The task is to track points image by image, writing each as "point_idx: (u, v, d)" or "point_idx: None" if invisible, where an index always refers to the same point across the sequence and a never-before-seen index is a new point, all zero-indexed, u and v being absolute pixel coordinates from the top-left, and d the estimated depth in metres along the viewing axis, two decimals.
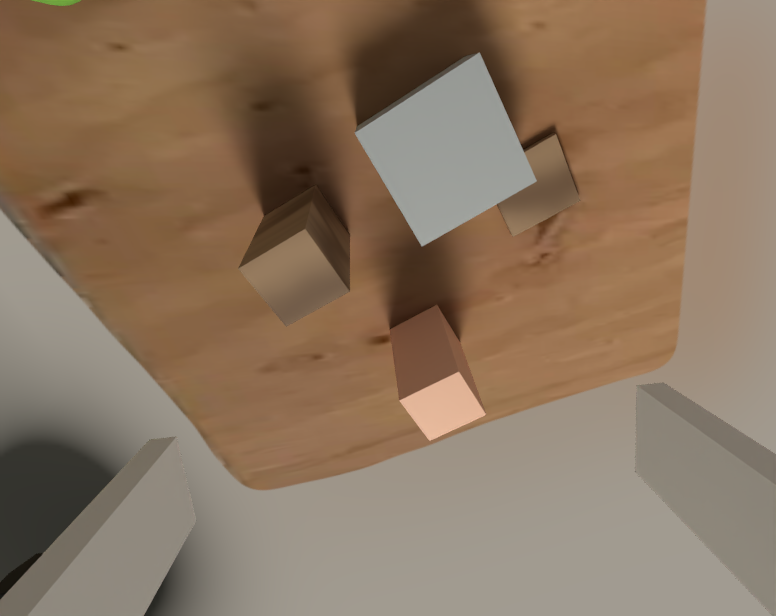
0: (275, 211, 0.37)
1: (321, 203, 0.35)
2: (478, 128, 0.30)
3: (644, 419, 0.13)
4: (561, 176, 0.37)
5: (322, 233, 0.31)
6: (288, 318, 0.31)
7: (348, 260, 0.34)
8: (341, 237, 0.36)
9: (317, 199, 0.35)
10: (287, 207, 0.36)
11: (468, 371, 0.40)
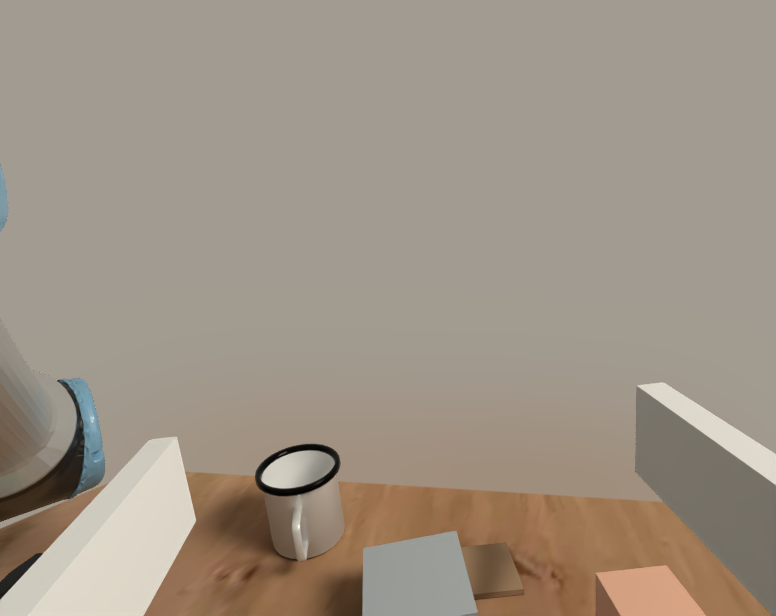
0: None
1: None
2: (405, 556, 0.43)
3: (644, 418, 0.13)
4: (482, 549, 0.49)
5: None
6: None
7: None
8: None
9: None
10: None
11: None
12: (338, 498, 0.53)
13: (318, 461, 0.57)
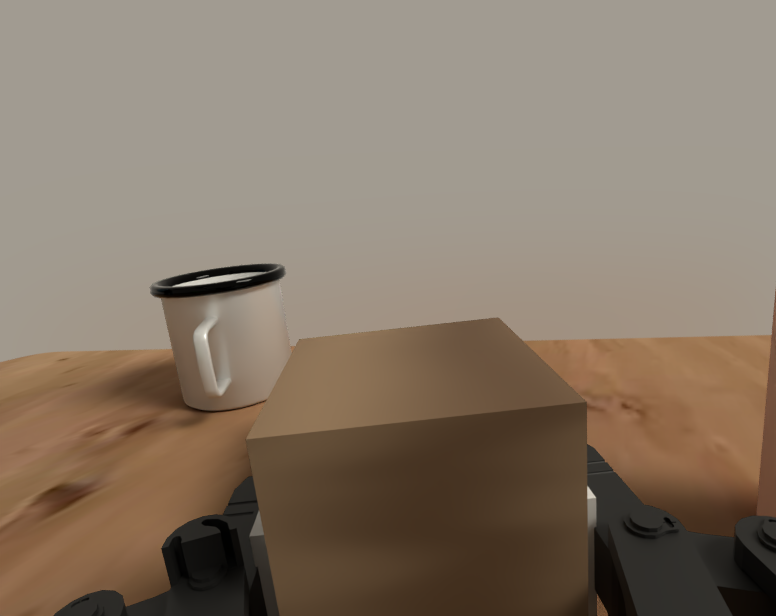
0: None
1: None
2: None
3: None
4: None
5: None
6: (545, 392, 0.07)
7: None
8: None
9: None
10: None
11: None
12: (282, 326, 0.35)
13: None
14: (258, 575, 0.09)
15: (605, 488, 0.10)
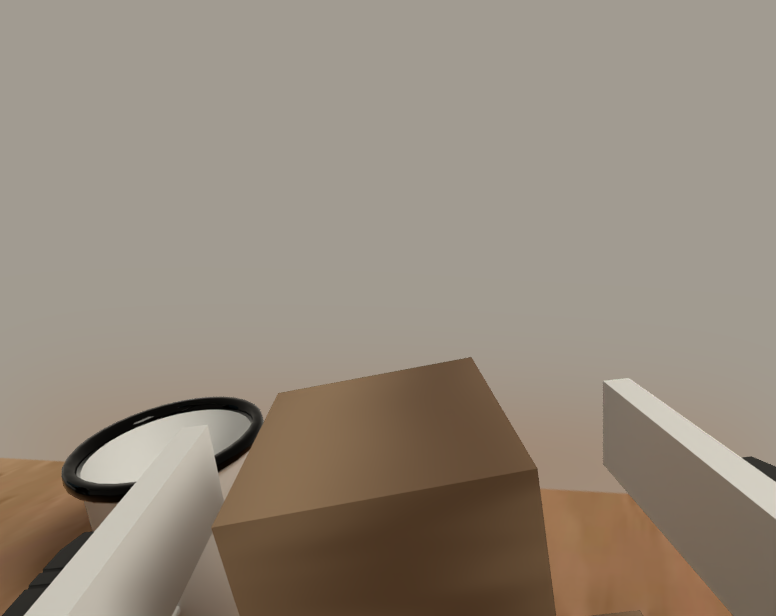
0: None
1: None
2: None
3: (610, 412, 0.13)
4: None
5: None
6: (500, 456, 0.07)
7: None
8: None
9: None
10: None
11: None
12: None
13: (228, 431, 0.28)
14: None
15: None
